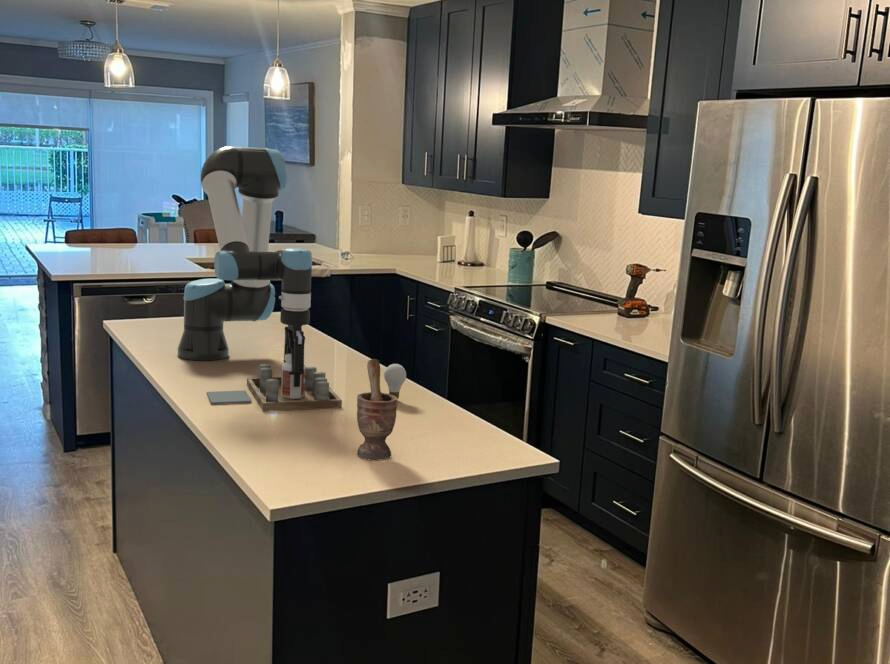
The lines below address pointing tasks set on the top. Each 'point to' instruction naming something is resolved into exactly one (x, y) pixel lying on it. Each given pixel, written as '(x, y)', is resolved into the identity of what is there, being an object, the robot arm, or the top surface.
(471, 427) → the top surface
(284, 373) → the pill bottle
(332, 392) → the tray
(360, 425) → the mortar and pestle
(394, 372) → the light bulb
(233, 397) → the mat
